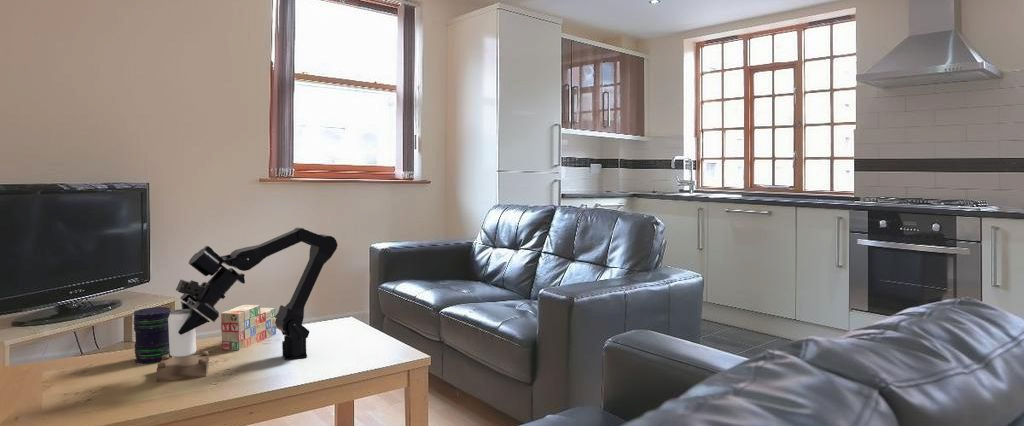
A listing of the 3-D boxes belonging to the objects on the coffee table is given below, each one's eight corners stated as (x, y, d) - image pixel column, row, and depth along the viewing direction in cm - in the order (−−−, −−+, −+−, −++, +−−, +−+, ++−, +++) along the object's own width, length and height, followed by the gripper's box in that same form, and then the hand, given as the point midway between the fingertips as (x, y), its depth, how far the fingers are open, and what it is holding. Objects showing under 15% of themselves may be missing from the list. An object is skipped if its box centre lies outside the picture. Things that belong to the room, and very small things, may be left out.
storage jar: (175, 353, 195) (173, 306, 194) (169, 362, 186) (167, 313, 185) (139, 356, 192) (137, 308, 191) (131, 365, 183) (129, 315, 182)
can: (180, 350, 176) (178, 308, 175) (201, 351, 175) (199, 309, 174) (164, 357, 170) (162, 313, 169) (185, 358, 169) (183, 314, 168)
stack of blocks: (260, 333, 220) (259, 298, 219) (276, 334, 219) (275, 299, 218) (221, 350, 199) (220, 312, 198) (239, 351, 198) (238, 313, 197)
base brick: (209, 365, 183) (208, 350, 183) (206, 376, 174) (205, 360, 173) (162, 370, 178) (162, 355, 178) (157, 381, 169) (156, 365, 169)
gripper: (186, 264, 180) (145, 308, 174) (203, 272, 166) (159, 320, 160) (217, 288, 186) (177, 331, 179) (236, 297, 171) (194, 345, 165)
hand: (176, 331), depth 171 cm, fingers closed on can, 6 cm apart
